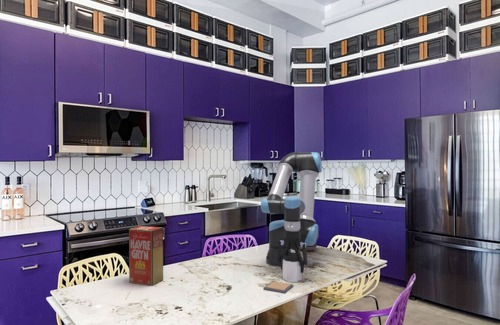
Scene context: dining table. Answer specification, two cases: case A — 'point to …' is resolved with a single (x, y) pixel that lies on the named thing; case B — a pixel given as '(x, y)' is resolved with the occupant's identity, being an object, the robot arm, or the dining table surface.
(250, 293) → the dining table surface
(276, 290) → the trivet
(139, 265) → the food packaging
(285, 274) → the jar
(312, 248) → the flowerpot
